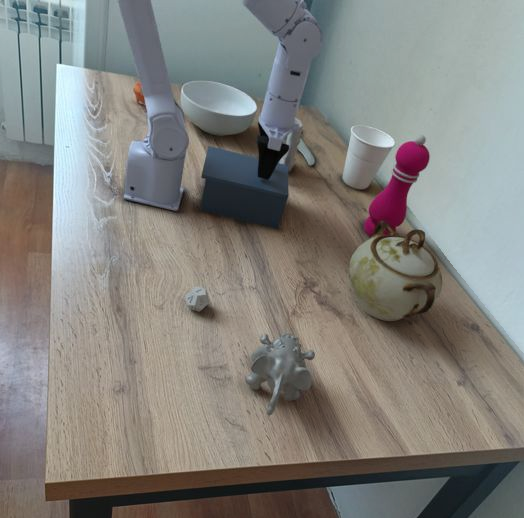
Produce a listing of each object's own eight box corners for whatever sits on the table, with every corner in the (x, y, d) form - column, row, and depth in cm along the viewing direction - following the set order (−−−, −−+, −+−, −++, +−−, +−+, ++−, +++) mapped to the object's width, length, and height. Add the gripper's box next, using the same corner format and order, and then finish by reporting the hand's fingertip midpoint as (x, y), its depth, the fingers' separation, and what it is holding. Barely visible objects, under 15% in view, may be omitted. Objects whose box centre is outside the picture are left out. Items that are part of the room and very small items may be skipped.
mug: (289, 159, 121) (305, 106, 113) (298, 186, 113) (316, 131, 105) (256, 153, 119) (270, 98, 111) (263, 180, 111) (278, 123, 103)
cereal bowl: (164, 126, 117) (168, 93, 112) (193, 104, 129) (198, 73, 125) (237, 153, 116) (244, 121, 112) (259, 129, 129) (266, 99, 124)
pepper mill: (394, 246, 105) (443, 149, 91) (359, 234, 105) (403, 136, 91) (395, 228, 110) (441, 134, 97) (362, 217, 110) (403, 121, 96)
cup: (327, 180, 118) (344, 132, 111) (342, 167, 125) (360, 120, 118) (367, 200, 116) (387, 152, 109) (381, 185, 123) (401, 139, 116)
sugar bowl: (444, 346, 86) (494, 272, 76) (363, 348, 81) (405, 269, 71) (393, 269, 99) (430, 197, 89) (320, 266, 94) (350, 189, 83)
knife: (325, 166, 121) (306, 161, 119) (322, 172, 122) (303, 167, 120) (292, 111, 138) (275, 106, 136) (290, 117, 139) (273, 112, 137)
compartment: (199, 211, 97) (205, 179, 92) (206, 180, 105) (211, 150, 101) (278, 229, 99) (287, 199, 95) (278, 198, 107) (287, 169, 103)
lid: (201, 178, 92) (205, 153, 89) (207, 149, 101) (211, 125, 97) (287, 198, 95) (294, 175, 91) (287, 168, 103) (293, 146, 100)
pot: (126, 107, 118) (130, 74, 115) (137, 104, 125) (141, 73, 122) (161, 117, 118) (166, 84, 115) (170, 114, 125) (175, 83, 122)
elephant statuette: (299, 362, 75) (316, 323, 70) (316, 433, 67) (337, 394, 62) (235, 358, 73) (247, 316, 68) (245, 431, 65) (260, 390, 59)
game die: (213, 309, 79) (216, 293, 77) (194, 318, 76) (197, 302, 74) (197, 295, 80) (200, 280, 78) (178, 304, 78) (180, 288, 76)
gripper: (309, 117, 83) (285, 195, 92) (306, 85, 94) (284, 158, 103) (264, 105, 82) (245, 185, 91) (266, 74, 93) (248, 149, 102)
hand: (263, 170), depth 97 cm, fingers closed on lid, 5 cm apart
